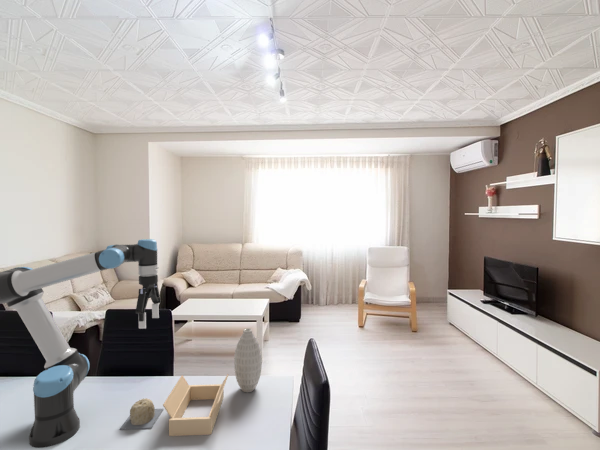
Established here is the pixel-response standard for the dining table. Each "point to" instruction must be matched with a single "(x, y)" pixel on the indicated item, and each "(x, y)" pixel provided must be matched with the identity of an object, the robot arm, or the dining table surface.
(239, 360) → the vase
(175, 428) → the carton
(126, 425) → the mat
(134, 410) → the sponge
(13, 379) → the dining table surface
